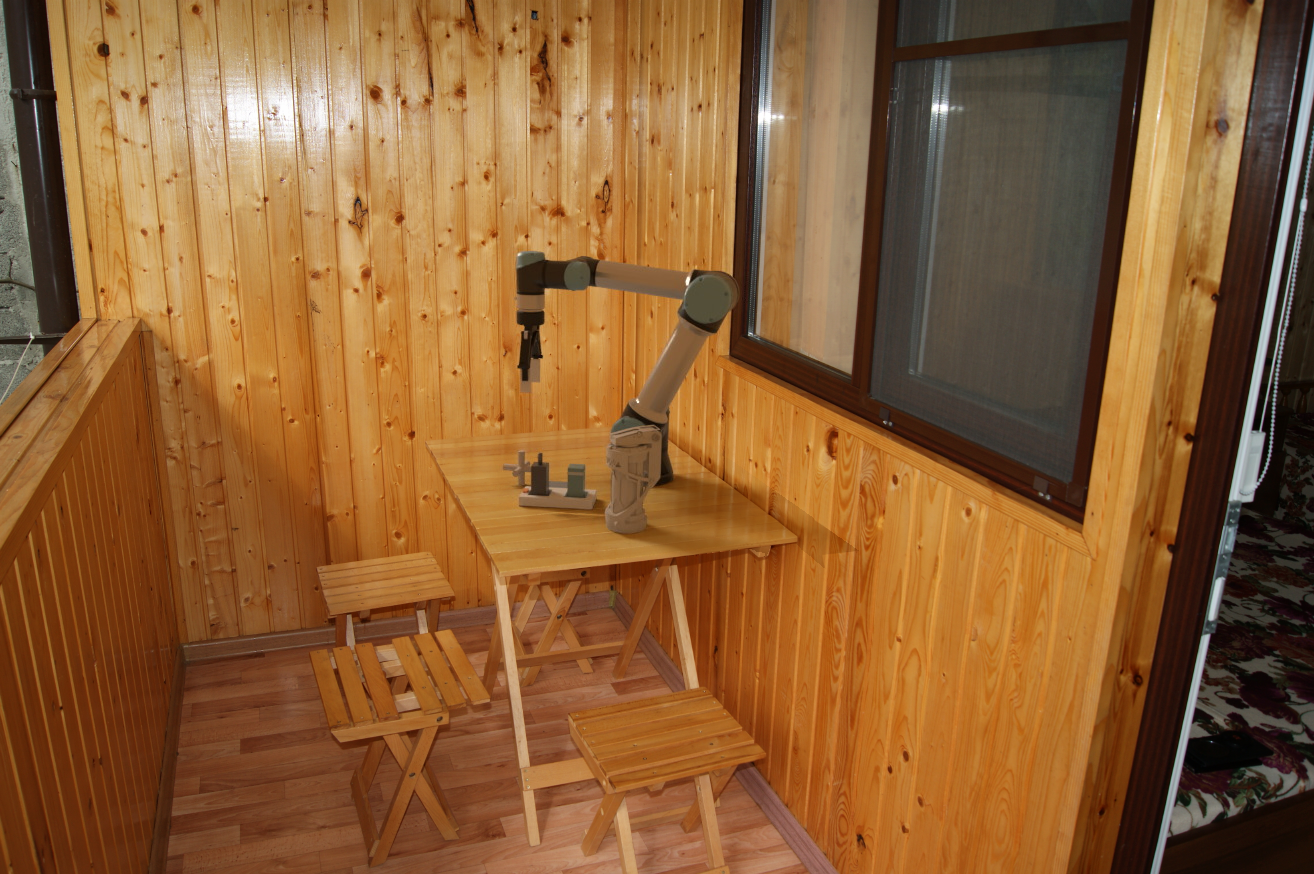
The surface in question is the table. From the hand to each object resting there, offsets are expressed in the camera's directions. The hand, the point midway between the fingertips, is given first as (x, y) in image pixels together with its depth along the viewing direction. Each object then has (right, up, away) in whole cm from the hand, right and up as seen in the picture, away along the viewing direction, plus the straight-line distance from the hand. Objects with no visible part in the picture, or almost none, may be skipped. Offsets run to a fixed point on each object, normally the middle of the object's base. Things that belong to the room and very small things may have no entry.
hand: (530, 387), depth 284 cm
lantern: (+28, -36, -27) cm, 53 cm away
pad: (+9, -28, +1) cm, 29 cm away
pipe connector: (-3, -27, +2) cm, 27 cm away
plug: (+13, -31, -13) cm, 36 cm away
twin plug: (+4, -31, -12) cm, 33 cm away
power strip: (+9, -31, -12) cm, 35 cm away
